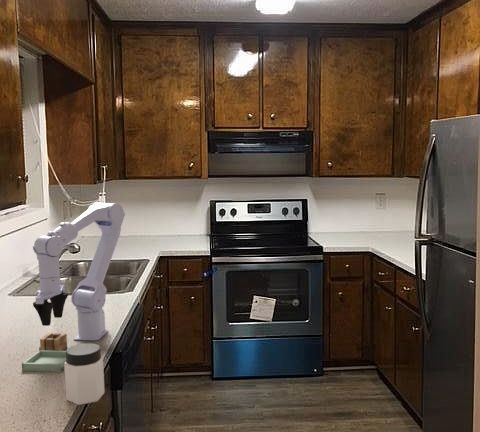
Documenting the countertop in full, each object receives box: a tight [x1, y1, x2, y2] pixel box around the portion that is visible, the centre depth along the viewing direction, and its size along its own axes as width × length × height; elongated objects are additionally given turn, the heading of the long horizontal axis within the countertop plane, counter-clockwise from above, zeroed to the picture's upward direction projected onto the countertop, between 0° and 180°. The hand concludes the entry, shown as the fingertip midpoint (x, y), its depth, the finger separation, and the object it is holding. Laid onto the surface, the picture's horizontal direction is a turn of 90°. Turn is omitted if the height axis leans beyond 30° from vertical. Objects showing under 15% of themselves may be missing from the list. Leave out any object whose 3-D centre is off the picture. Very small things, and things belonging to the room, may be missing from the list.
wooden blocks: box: [38, 332, 68, 351], centre depth 161 cm, size 6×7×4 cm
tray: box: [21, 350, 66, 373], centre depth 151 cm, size 10×11×2 cm
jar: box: [64, 342, 105, 406], centre depth 130 cm, size 9×8×12 cm
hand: (52, 321), depth 160 cm, fingers open, 7 cm apart
